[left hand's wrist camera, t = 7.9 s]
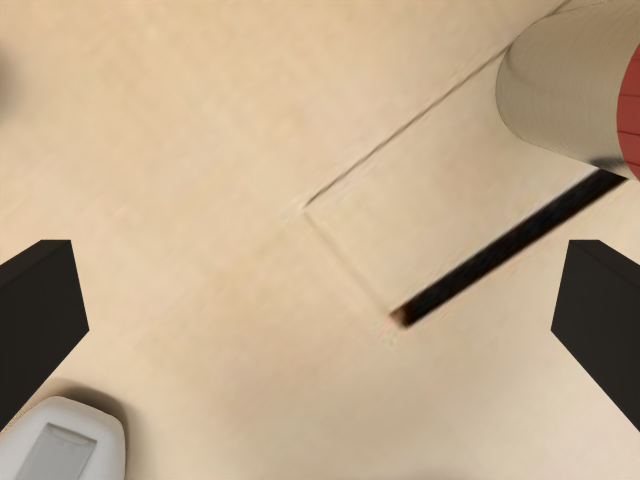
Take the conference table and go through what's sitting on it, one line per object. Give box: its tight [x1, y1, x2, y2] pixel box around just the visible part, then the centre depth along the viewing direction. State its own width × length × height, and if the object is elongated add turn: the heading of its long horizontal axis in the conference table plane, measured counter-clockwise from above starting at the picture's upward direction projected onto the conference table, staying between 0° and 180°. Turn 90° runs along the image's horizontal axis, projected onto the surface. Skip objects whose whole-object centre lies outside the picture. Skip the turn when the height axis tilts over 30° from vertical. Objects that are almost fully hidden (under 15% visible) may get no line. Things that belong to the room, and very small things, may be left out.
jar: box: [496, 0, 640, 182], centre depth 28 cm, size 10×10×18 cm
